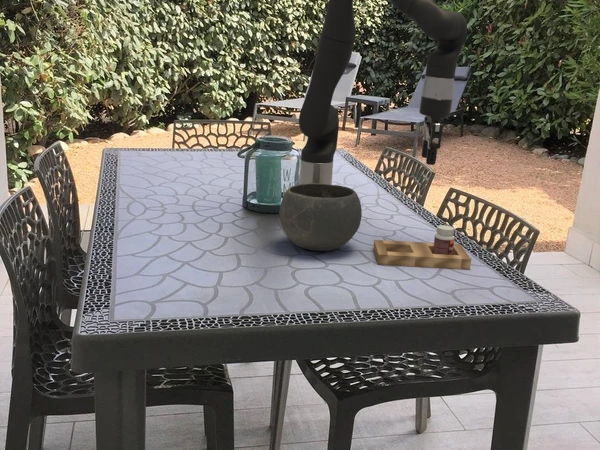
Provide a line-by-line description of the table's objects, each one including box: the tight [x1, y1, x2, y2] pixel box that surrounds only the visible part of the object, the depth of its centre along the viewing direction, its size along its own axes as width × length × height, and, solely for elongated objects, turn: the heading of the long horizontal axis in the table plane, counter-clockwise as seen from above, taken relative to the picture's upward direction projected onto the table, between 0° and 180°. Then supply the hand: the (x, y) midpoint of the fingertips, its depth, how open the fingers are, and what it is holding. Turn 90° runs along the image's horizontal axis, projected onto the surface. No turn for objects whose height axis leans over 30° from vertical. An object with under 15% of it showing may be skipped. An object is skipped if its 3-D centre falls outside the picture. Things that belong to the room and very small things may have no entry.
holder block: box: [372, 239, 472, 270], centre depth 170 cm, size 22×12×2 cm, turn 89°
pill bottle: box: [433, 225, 456, 255], centre depth 170 cm, size 5×5×8 cm
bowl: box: [278, 183, 363, 252], centre depth 173 cm, size 20×20×15 cm
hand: (427, 160), depth 174 cm, fingers open, 8 cm apart
